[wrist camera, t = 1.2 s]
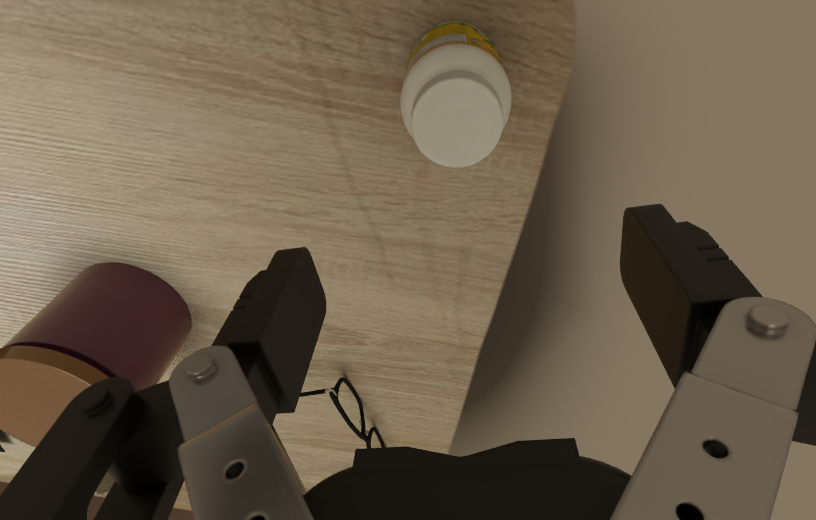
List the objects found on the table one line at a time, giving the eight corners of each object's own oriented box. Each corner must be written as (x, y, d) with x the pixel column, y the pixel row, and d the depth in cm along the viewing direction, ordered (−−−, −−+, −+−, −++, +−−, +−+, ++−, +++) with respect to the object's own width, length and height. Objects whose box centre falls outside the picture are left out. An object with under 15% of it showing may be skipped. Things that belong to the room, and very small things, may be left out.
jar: (44, 267, 39) (-72, 366, 30) (159, 252, 38) (71, 352, 29) (112, 356, 45) (31, 461, 36) (214, 347, 43) (155, 454, 35)
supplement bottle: (397, 35, 27) (377, 78, 20) (489, 7, 26) (508, 40, 18) (422, 124, 30) (413, 193, 22) (506, 102, 29) (528, 166, 21)
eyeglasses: (399, 459, 52) (396, 495, 49) (271, 475, 55) (260, 510, 52) (342, 356, 43) (333, 391, 40) (194, 383, 47) (175, 417, 43)
